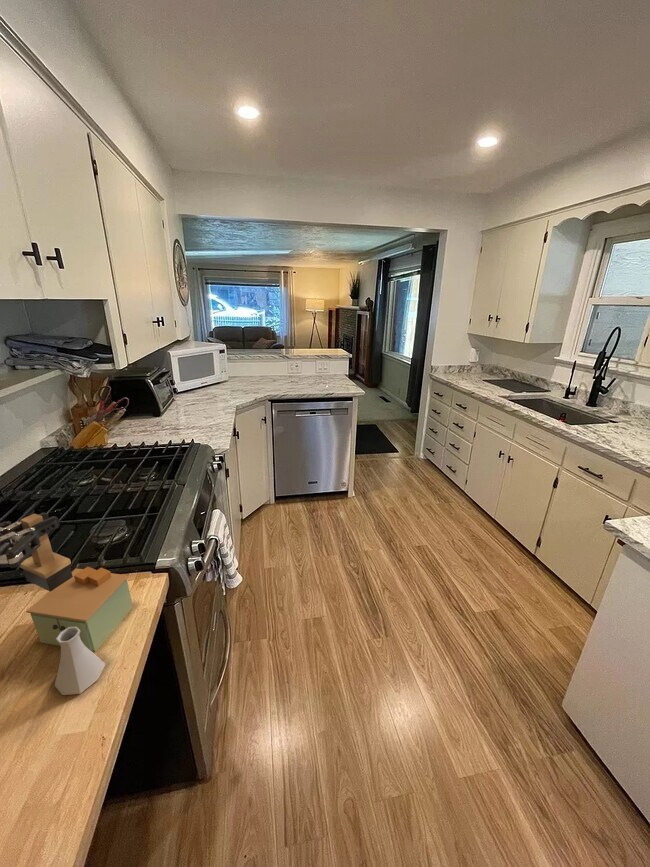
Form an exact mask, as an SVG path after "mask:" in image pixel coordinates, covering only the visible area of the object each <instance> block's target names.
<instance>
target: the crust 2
mask: <svg viewBox="0 0 650 867" xmlns="http://www.w3.org/2000/svg"><path fill="white" fill-rule="evenodd" d="M96 570H97V571H95V572H94V573H92V574H91V575H89V576H88V580H89V582H90V583H92V584H94V585H96V586H99V585H101V584H102V583H104V582H105V581H106V580H108V579H109V578H111V573H112V572H111V571H110V570H108V569H106V568H103V567H100V568H98V569H96Z"/></svg>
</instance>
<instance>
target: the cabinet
mask: <svg viewBox="0 0 650 867" xmlns="http://www.w3.org/2000/svg"><path fill="white" fill-rule="evenodd" d="M83 569H84V568H83ZM83 569H82V568H77V567H76V568H74V569H73V570H71V572H72V575H73V577H72V578H71V579H69V580H68V581H66V582H64V583H63V584H61V585H60V586H58V587H57V588H55V589H54V590H52V591H51V592H50V591H48V592H46V593H45V594H44V595H42V597H40V598H39V599H38V600H37V601H35V603H33V604H32V605H31V606H30V607H29V608H28V609H26V611H25V612H26V613H27V614H30V617H31V620H32V623H33V625H34V628H35V631H36V633H37V637H38V639H39V642H40V643H41V644H45V645H51V646H52V645H53V646H58V647H61V646H60V644H59V643H58V642H57V641H56V638H57V637H58V635H59V634H60V632H62V631H63V630H65V629H66V628H68V627H77V628H78V629H79V630H80V633H79V636H80V639H81V641H82V642H83V644H84V645H85V646H86V647H87V648H88V649H89V650H90V651H92V652H93V653H96V652H97V651H98V650H99V649H100V647H101V646H102V645H103V644H104V642H105V641H106V640H107V639H108V637H110V635H111V634H112V633H113V631H114V630H115V629H116V628H117V627H118V625H120V623H121V622H122V621H123V619H124V618H125V617H126V616H127V615H128V614H129V612H130V611H131V610H132V609H133V607H134V605H133V600H132V597H131V592H130V587H129V584H128V583H129V582H128V578H130V577H129V575H128V574H120V573H112V572H110V573H111V578H109V579H108V580H106V581H105V582H104V583H102V584H101V585H99V586H96V585H94V584H92V583H90V582H88V583H87V584H86V585H83V584H80V583H78V582H76V581H75V578H74V575H76V574H77V573H79V572H80V571H82V570H83Z"/></svg>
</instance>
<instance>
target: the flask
mask: <svg viewBox="0 0 650 867" xmlns="http://www.w3.org/2000/svg"><path fill="white" fill-rule="evenodd" d="M79 633H80V630H79V629H78V628H77V627H68V628H66V629H65V630H63V631H62V632H60V634H59V635H58V637H57V638H56V641H57V642H58V643H59V644H60V646H59V647H60V658H59V659H60V660H59V664H58V670H57V673H56V678H55V681H54V687H55V689H57V691H58V692H59V693H60V695H61V696H67V695H69V696H71V695H80V694H82V693H83V692H84V691H85V690H87V689H88V688H89V687H91V686H92V685H93V684H94V683H95V682H97V681H98V680H99V679H100V677H101V674H102V672H103V671H104V669H105V667H106V663H105V661H103V660H102V659H101V658H100V657H99V656H98V655H97V654H95V652H92V651H90V650H89V649H88V648H87V647H86V646H85V645H84V644H83V642H82V641H81V639H80V636H79Z"/></svg>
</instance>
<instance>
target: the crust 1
mask: <svg viewBox="0 0 650 867" xmlns="http://www.w3.org/2000/svg"><path fill="white" fill-rule="evenodd" d="M97 570H98V569H95V568H92V567H90V566H86V567H85V568H83V570H82V571H80V572H79V573H77V574H76V575H74V578H75V581H76V582H78V583H80V584H83V585H86V584H87V583H88V582H89V580H88V576H89V575H91V574H92V573H94V572H95V571H97Z"/></svg>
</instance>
